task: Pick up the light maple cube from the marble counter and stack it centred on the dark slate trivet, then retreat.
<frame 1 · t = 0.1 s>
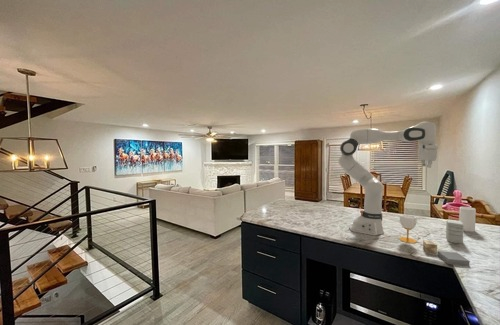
hand: (426, 166, 139), 48 cm above the counter, fingers open, 8 cm apart
slate trivet: (452, 261, 112), on the counter
cup 2: (407, 240, 137), on the counter
maple cube: (429, 250, 123), on the counter
supplement box: (454, 240, 135), on the counter
cup: (466, 229, 153), on the counter
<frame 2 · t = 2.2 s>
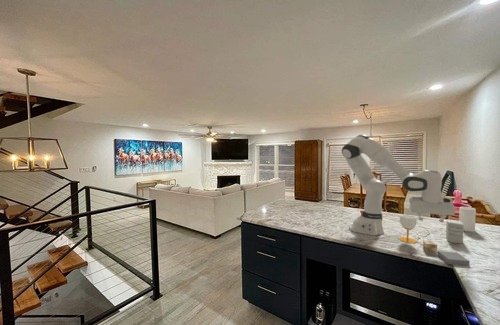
hand: (430, 221, 122), 18 cm above the counter, fingers open, 8 cm apart
nothing on the counter moved.
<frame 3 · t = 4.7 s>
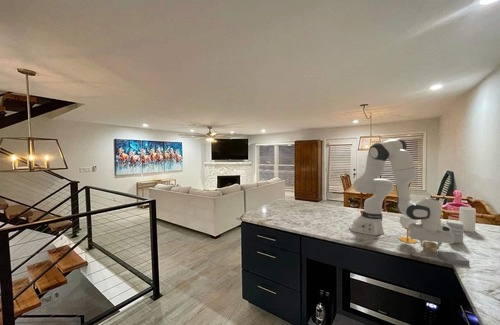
hand: (429, 247, 123), 2 cm above the counter, fingers closed on maple cube, 5 cm apart
maple cube: (429, 250, 123), on the counter, touching gripper
everything else where it was.
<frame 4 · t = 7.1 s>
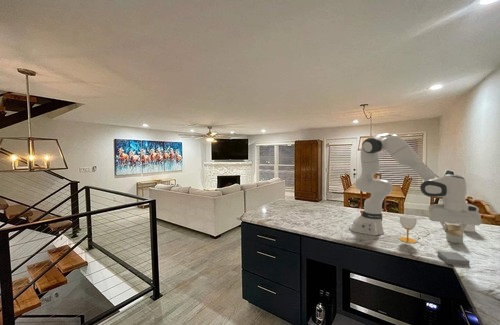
hand: (452, 230, 111), 16 cm above the counter, fingers closed on maple cube, 5 cm apart
maple cube: (452, 234, 111), point 14 cm above the counter, touching gripper
everything else where it was.
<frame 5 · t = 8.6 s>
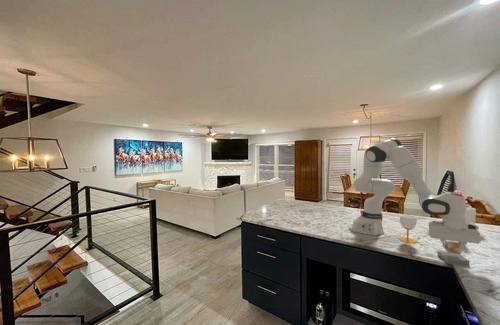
hand: (452, 248, 111), 7 cm above the counter, fingers closed on maple cube, 5 cm apart
maple cube: (452, 251, 112), point 5 cm above the counter, touching gripper
everything else where it was.
when the fingers open (6 cm above the counter, at t = 9.7 s): maple cube drops 1 cm, resting on slate trivet.
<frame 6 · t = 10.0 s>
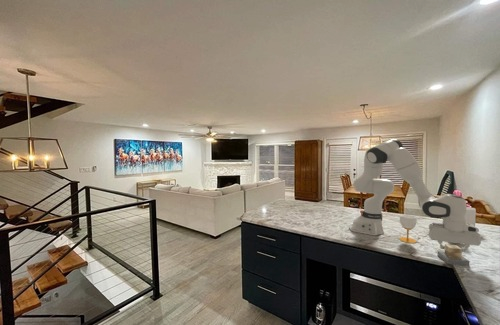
hand: (452, 250, 112), 6 cm above the counter, fingers open, 7 cm apart
slate trivet: (452, 261, 112), on the counter, touching maple cube
maple cube: (452, 255, 112), point 2 cm above the counter, touching slate trivet
everything else where it was.
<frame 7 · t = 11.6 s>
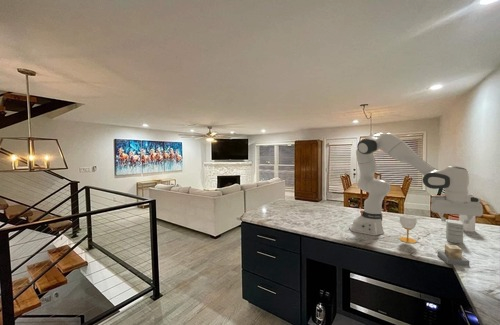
hand: (454, 222, 111), 21 cm above the counter, fingers open, 8 cm apart
slate trivet: (452, 261, 112), on the counter
maple cube: (452, 255, 112), point 2 cm above the counter
everything else where it was.
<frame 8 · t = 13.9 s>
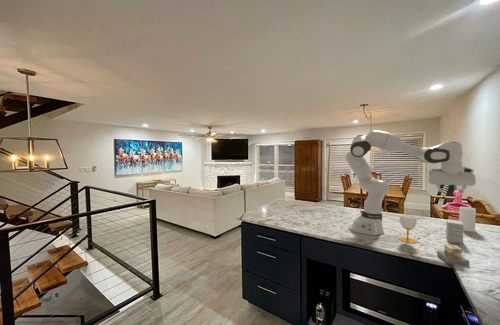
hand: (450, 192, 123), 34 cm above the counter, fingers open, 8 cm apart
slate trivet: (452, 261, 112), on the counter, touching maple cube
maple cube: (452, 255, 112), point 2 cm above the counter, touching slate trivet
everything else where it was.
at the end: maple cube 0.1 cm off-centre on the slate trivet, point 3.0 cm above the slate trivet's base; maple cube tilted 0°; the gripper is holding nothing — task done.
